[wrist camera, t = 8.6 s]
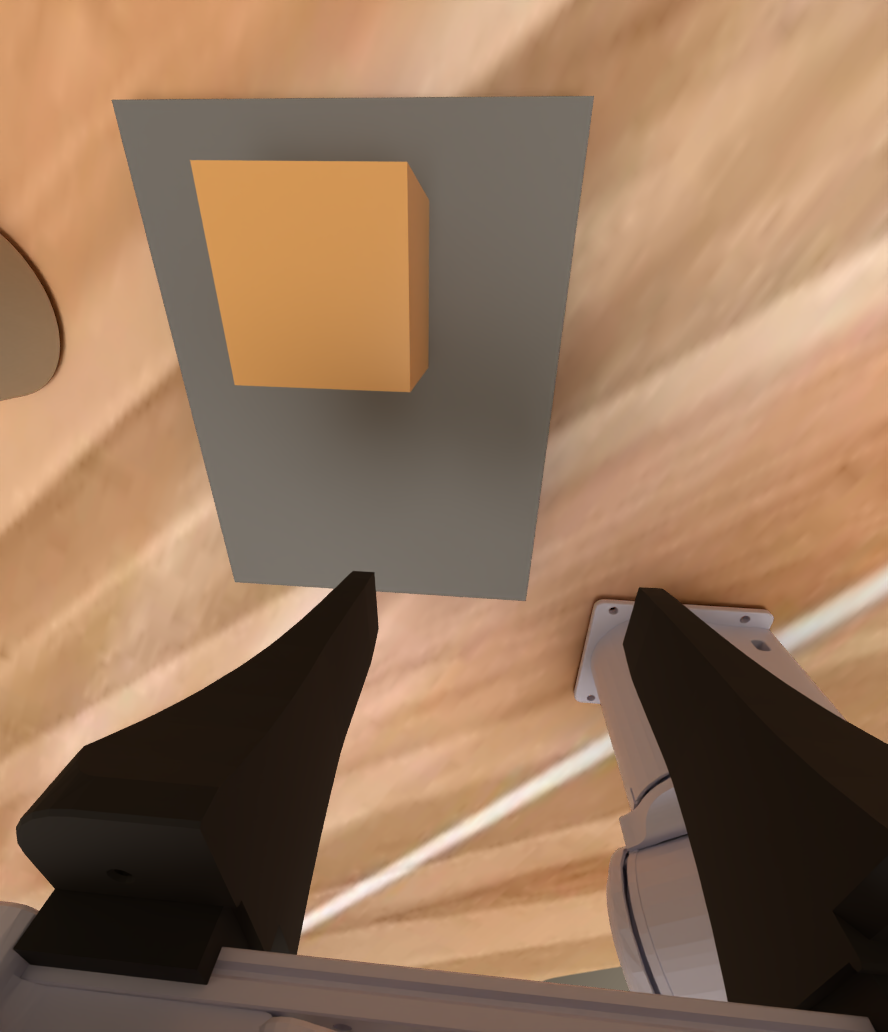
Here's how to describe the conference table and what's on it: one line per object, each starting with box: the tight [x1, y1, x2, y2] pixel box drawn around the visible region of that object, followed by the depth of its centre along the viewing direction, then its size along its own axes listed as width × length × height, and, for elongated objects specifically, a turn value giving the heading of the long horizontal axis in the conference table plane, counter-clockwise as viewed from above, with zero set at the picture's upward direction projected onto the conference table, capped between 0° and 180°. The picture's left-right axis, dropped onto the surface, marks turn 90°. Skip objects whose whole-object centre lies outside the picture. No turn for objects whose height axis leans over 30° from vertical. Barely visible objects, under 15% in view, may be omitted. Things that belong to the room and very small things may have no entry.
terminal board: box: [112, 96, 594, 601], centre depth 18 cm, size 16×20×5 cm
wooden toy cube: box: [190, 160, 429, 392], centre depth 14 cm, size 6×6×5 cm
